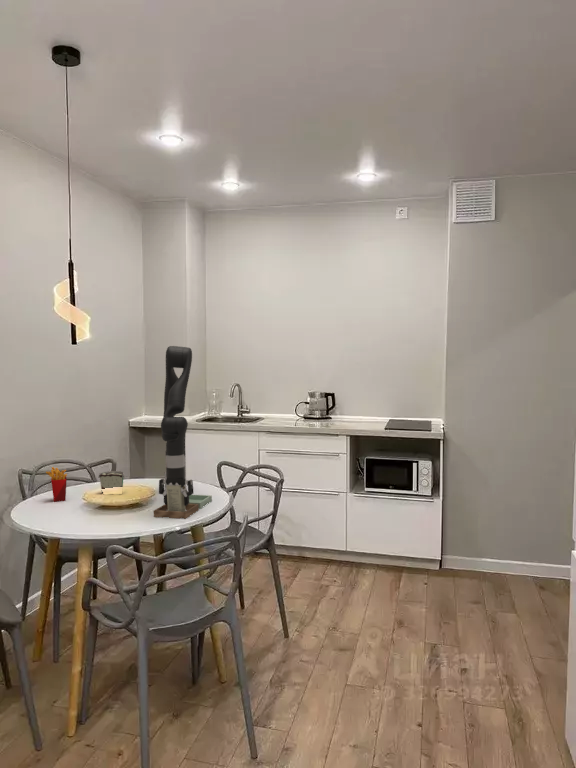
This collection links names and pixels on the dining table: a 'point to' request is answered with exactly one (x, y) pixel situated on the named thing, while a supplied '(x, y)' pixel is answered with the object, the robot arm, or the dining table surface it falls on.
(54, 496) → the french fries
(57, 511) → the dining table surface
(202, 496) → the green tray
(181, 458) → the robot arm
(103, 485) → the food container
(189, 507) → the walnut bin
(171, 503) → the skincare box
